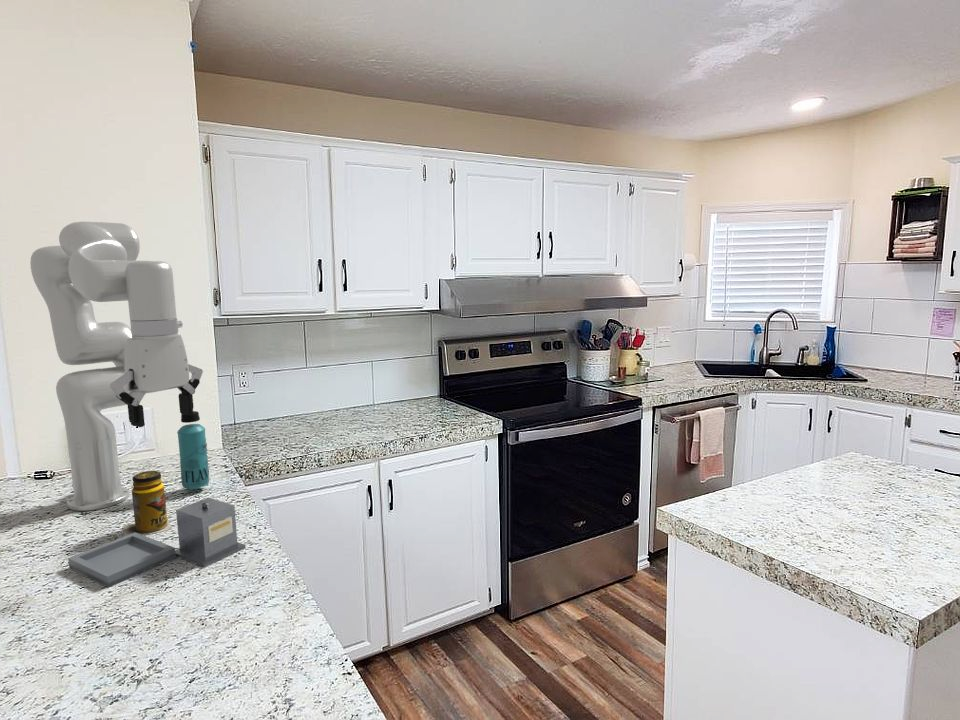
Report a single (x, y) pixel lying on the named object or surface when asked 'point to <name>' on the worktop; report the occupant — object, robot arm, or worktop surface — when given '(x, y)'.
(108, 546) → the tray
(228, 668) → the worktop surface
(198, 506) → the block
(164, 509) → the condiment
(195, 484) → the beverage bottle
